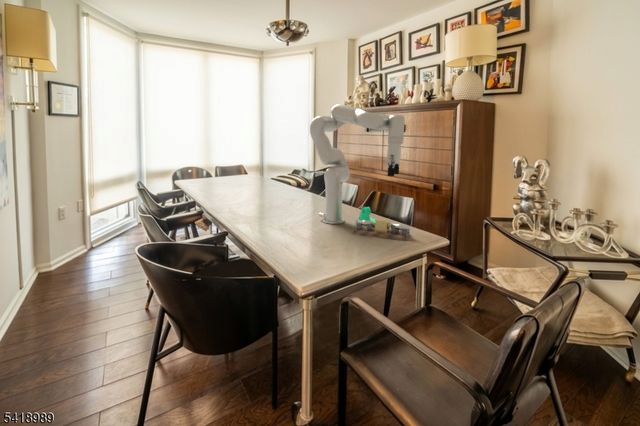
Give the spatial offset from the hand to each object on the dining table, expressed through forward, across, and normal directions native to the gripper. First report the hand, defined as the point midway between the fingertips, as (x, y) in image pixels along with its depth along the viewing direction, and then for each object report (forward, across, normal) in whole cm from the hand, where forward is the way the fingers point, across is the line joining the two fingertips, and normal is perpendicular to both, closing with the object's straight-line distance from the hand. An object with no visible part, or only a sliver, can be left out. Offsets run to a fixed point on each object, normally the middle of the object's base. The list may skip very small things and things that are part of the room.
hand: (393, 175), depth 181 cm
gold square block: (+28, +7, -2) cm, 29 cm away
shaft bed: (+30, +8, -2) cm, 31 cm away
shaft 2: (+28, +7, +7) cm, 30 cm away
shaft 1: (+28, +8, -11) cm, 31 cm away
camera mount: (+30, -8, -14) cm, 34 cm away
